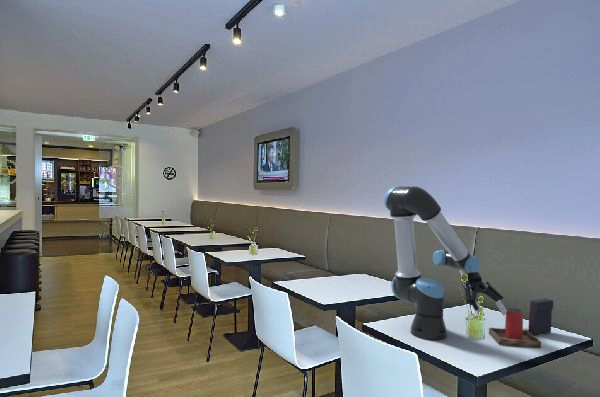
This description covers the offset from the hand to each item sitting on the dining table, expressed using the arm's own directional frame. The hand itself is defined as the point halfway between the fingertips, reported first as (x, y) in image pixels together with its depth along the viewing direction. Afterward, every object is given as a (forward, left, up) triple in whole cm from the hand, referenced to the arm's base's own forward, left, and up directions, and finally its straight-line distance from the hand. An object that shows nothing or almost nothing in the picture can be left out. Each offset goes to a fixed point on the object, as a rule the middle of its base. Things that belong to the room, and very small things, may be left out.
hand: (494, 315), depth 186 cm
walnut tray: (+5, -9, -8) cm, 13 cm away
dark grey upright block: (+20, +3, -8) cm, 22 cm away
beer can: (+5, -9, -7) cm, 13 cm away
